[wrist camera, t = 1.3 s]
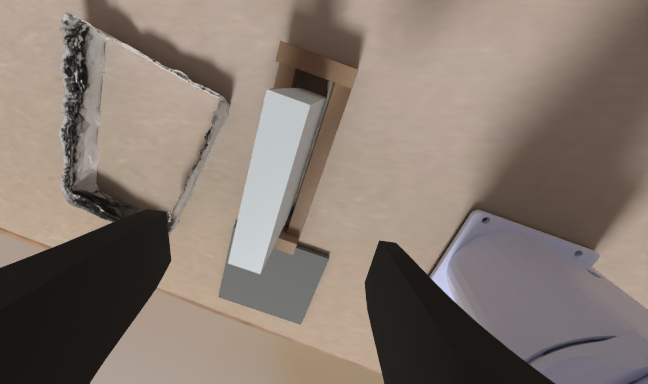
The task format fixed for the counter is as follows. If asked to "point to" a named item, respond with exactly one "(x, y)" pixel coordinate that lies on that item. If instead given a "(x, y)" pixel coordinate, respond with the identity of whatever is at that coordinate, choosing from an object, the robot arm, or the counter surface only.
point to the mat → (276, 283)
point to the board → (274, 172)
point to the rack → (344, 78)
